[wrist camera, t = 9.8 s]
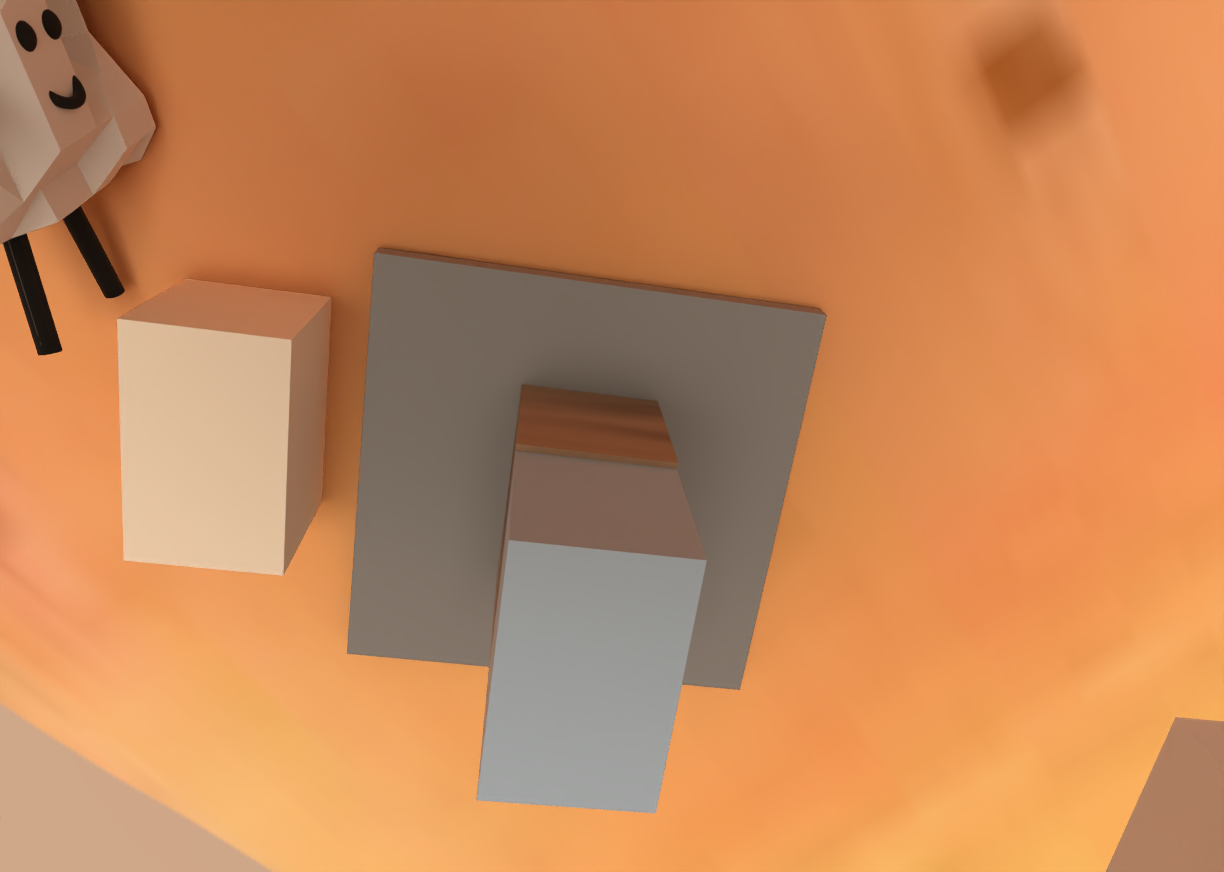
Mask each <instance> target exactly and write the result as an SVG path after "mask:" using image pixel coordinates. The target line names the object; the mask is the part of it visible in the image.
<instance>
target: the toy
mask: <svg viewBox="0 0 1224 872" xmlns="http://www.w3.org/2000/svg"><path fill="white" fill-rule="evenodd" d="M155 129H156V125H155V123H154V120H153V117H152V115H151V112H150V109H149V107H148V104H147V101H146V99H145V96H144V95H143V94H142V92H141V91H140V90H139V89H138V88H137V87H136V86H135V84H134V83H133V82H132V81H131V80H130V79H129V78H128V76H127V75H126V74H125V73H124V72H123V71H122V69H121V68H120V67H119V66H118V65H117V63H116V62H115V61H114V60H113V59H112V58H111V57H110V55H109V54H108V53H107V52H106V51H105V50H104V49H103V48H102V46H101V45H100V44H99V43H98V42H97V41H96V40H95V38H94V37H93V36H92V35H91V34H90V33H89V31H88V29H87V26H86V24H85V21H84V19H83V16H82V14H81V11H80V9H79V6H78V4H77V1H76V0H0V244H2V243H3V245H4V248H5V251H6V254H7V258H8V261H9V264H10V267H11V270H12V273H13V277H14V280H15V283H16V286H17V289H18V292H19V296H20V299H21V302H22V305H23V308H24V311H25V315H26V318H27V321H28V324H29V327H30V330H31V334H32V337H33V340H34V343H35V346H36V349H37V353H38V355H47V354H53V353H57V352H60V351H62V347H61V344H60V341H59V337H58V334H57V331H56V328H55V324H54V321H53V318H52V315H51V311H50V308H49V305H48V302H47V298H46V295H45V292H44V289H43V285H42V282H41V279H40V276H39V272H38V269H37V266H36V263H35V259H34V256H33V253H32V250H31V246H30V243H29V240H28V237H27V233H28V232H31V231H34V230H37V229H40V228H43V227H46V226H49V225H51V224H54V223H57V222H59V221H61V220H62V219H63V220H64V222H65V224H66V226H67V228H68V230H69V231H70V233H71V235H72V237H73V239H74V241H75V243H76V244H77V246H78V248H79V250H80V252H81V254H82V255H83V257H84V259H85V261H86V263H87V265H88V267H89V268H90V270H91V272H92V274H93V276H94V278H95V279H96V281H97V283H98V285H99V287H100V289H101V290H102V292H103V294H104V296H105V297H106V298H114V297H117V296H120V295H121V294H123V293H124V291H125V289H124V288H123V286H122V284H121V282H120V280H119V278H118V276H117V274H116V272H115V270H114V269H113V267H112V265H111V263H110V261H109V259H108V257H107V255H106V253H105V251H104V249H103V248H102V246H101V244H100V242H99V240H98V238H97V236H96V234H95V232H94V230H93V229H92V227H91V225H90V223H89V221H88V219H87V217H86V215H85V213H84V211H83V209H82V208H81V206H80V205H82V204H83V203H84V202H86V201H87V200H88V199H89V198H91V197H92V196H93V195H94V194H96V193H97V192H98V191H100V190H101V189H102V188H104V187H105V186H106V185H108V184H109V183H110V182H111V180H112V179H113V178H114V176H115V175H116V173H117V172H118V171H119V169H120V168H121V166H123V165H126V164H129V163H133V162H136V161H139V160H141V159H142V157H143V155H144V152H145V150H146V148H147V146H148V144H149V142H150V140H151V138H152V135H153V133H154V131H155Z"/></svg>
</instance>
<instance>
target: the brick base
mask: <svg viewBox="0 0 1224 872" xmlns="http://www.w3.org/2000/svg"><path fill="white" fill-rule="evenodd" d="M516 451H522V452H531V453H540V454H548V455H557V456H566V457H575V458H584V459H593V460H602V461H610V462H619V463H628V464H637V465H646V466H655V467H663V468H672V469H678V464H679V463H678V460H677V457H676V454H675V451H674V448H673V445H672V442H671V439H670V436H669V433H668V430H667V427H666V424H665V421H664V418H663V415H662V412H661V410H660V407H659V404H658V401H653V400H645V399H637V398H629V397H621V396H613V395H605V394H597V393H589V392H581V391H573V390H565V389H557V388H549V387H541V386H533V385H525V384H521V392H520V400H519V408H518V416H517V424H516V432H515V440H514V448H513V456H512V464H511V472H510V480H509V487H508V495H507V503H506V511H505V519H504V527H503V535H502V543H501V551H500V559H499V567H498V575H497V584H496V595H495V605H494V616H493V627H492V637H491V648H490V657H491V649H492V641H493V633H494V624H495V616H496V608H497V600H498V592H499V583H500V575H501V567H502V559H503V550H504V542H505V534H506V526H507V518H508V509H509V501H510V493H511V485H512V477H513V468H514V460H515V452H516ZM489 665H490V658H489Z"/></svg>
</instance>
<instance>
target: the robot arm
mask: <svg viewBox="0 0 1224 872" xmlns="http://www.w3.org/2000/svg"><path fill="white" fill-rule="evenodd" d="M1106 872H1224V722H1221V721H1210V720H1199V719H1188V718H1177V717H1176V718H1175V720H1174V722H1173V724H1172V726H1171V729H1170V731H1169V733H1168V735H1167V738H1166V740H1165V742H1164V744H1163V746H1162V749H1161V751H1160V753H1159V755H1158V757H1157V760H1156V762H1155V764H1154V766H1153V769H1152V771H1151V773H1150V775H1149V777H1148V780H1147V782H1146V784H1145V786H1144V788H1143V791H1142V793H1141V795H1140V797H1139V800H1138V802H1137V804H1136V806H1135V808H1134V811H1133V813H1132V815H1131V817H1130V819H1129V822H1128V824H1127V826H1126V828H1125V831H1124V833H1123V835H1122V837H1121V839H1120V842H1119V844H1118V846H1117V848H1116V850H1115V853H1114V855H1113V857H1112V859H1111V862H1110V864H1109V866H1108V868H1107V870H1106Z"/></svg>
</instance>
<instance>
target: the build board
mask: <svg viewBox="0 0 1224 872" xmlns="http://www.w3.org/2000/svg"><path fill="white" fill-rule="evenodd" d="M826 316H827V315H826V314H825V313H824V312H823V311H822V310H821V309H819V308H812V307H805V306H797V305H790V304H783V303H776V302H769V301H761V300H754V299H747V298H740V297H732V296H725V295H718V294H711V293H704V292H696V291H689V290H682V289H675V288H667V287H660V286H653V285H646V284H638V283H631V282H624V281H617V280H610V279H602V278H595V277H588V276H581V275H573V274H566V273H559V272H552V271H545V270H537V269H530V268H523V267H516V266H508V265H501V264H494V263H487V262H480V261H472V260H465V259H458V258H451V257H443V256H436V255H429V254H422V253H414V252H407V251H400V250H393V249H386V248H378V249H377V250H376V251H375V252H374V263H373V278H372V293H371V308H370V322H369V337H368V352H367V366H366V381H365V396H364V410H363V425H362V440H361V455H360V469H359V484H358V499H357V513H356V528H355V543H354V557H353V572H352V587H351V602H350V616H349V631H348V646H347V654H357V655H367V656H378V657H389V658H400V659H411V660H422V661H433V662H444V663H454V664H465V665H476V666H487V667H489V658H490V648H491V637H492V627H493V616H494V605H495V595H496V584H497V575H498V567H499V559H500V551H501V543H502V535H503V527H504V519H505V511H506V503H507V495H508V487H509V480H510V472H511V464H512V456H513V448H514V440H515V432H516V424H517V416H518V408H519V400H520V392H521V384H525V385H533V386H541V387H549V388H557V389H565V390H573V391H581V392H589V393H597V394H605V395H613V396H621V397H629V398H637V399H645V400H653V401H658V404H659V407H660V410H661V412H662V415H663V418H664V421H665V424H666V427H667V430H668V433H669V436H670V439H671V442H672V445H673V448H674V451H675V454H676V457H677V460H678V463H679V464H678V469H677V471H678V474H679V477H680V480H681V483H682V486H683V489H684V492H685V495H686V498H687V501H688V504H689V508H690V511H691V514H692V517H693V520H694V523H695V526H696V529H697V532H698V535H699V538H700V541H701V544H702V547H703V550H704V553H705V556H706V559H707V562H706V567H705V572H704V577H703V582H702V587H701V592H700V597H699V602H698V607H697V612H696V617H695V621H694V626H693V631H692V636H691V641H690V646H689V651H688V656H687V661H686V666H685V671H684V676H683V681H682V684H683V685H694V686H704V687H715V688H726V689H737V690H740V687H741V682H742V678H743V674H744V669H745V665H746V661H747V656H748V652H749V648H750V644H751V639H752V635H753V631H754V626H755V622H756V618H757V613H758V609H759V605H760V600H761V596H762V592H763V587H764V583H765V579H766V575H767V570H768V566H769V562H770V557H771V553H772V549H773V544H774V540H775V536H776V531H777V527H778V523H779V519H780V514H781V510H782V506H783V501H784V497H785V493H786V488H787V484H788V480H789V475H790V471H791V467H792V463H793V458H794V454H795V450H796V445H797V441H798V437H799V432H800V428H801V424H802V419H803V415H804V411H805V406H806V402H807V398H808V394H809V389H810V385H811V381H812V376H813V372H814V368H815V363H816V359H817V355H818V350H819V346H820V342H821V338H822V333H823V329H824V325H825V320H826Z"/></svg>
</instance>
